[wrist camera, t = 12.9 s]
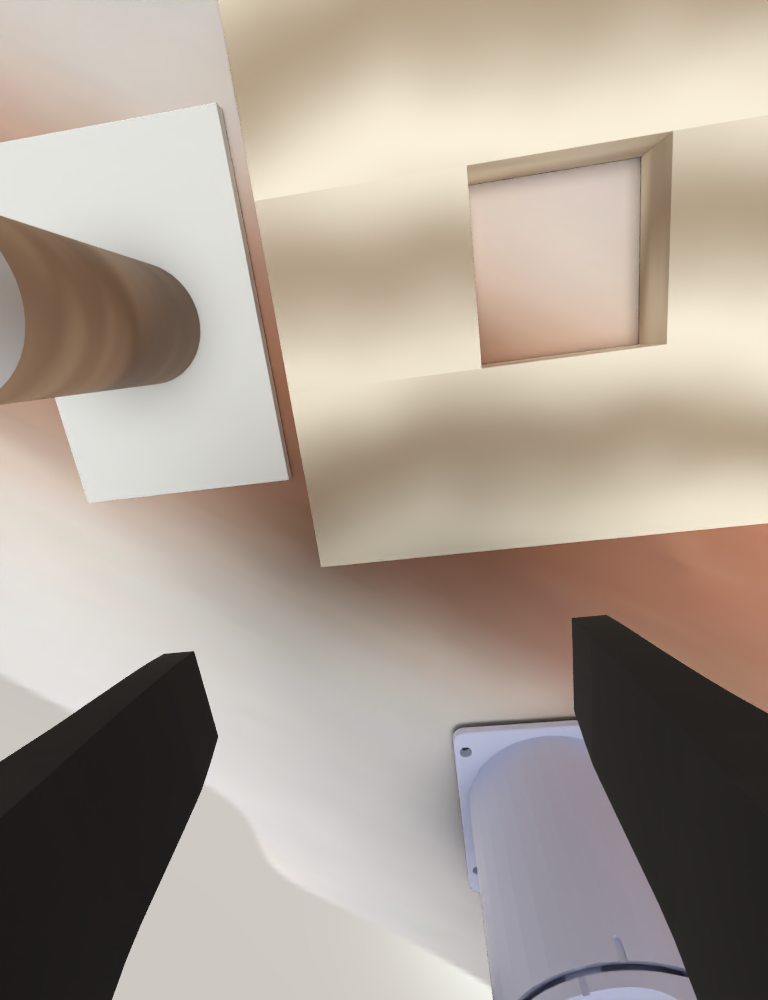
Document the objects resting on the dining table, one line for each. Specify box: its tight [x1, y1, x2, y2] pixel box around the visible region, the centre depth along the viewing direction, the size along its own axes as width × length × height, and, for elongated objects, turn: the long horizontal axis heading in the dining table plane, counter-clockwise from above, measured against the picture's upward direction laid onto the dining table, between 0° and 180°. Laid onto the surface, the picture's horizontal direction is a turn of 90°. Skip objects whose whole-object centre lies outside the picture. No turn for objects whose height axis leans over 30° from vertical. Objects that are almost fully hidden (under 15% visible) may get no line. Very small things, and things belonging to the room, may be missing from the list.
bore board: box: [218, 0, 768, 567], centre depth 16 cm, size 18×18×2 cm
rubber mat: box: [0, 102, 292, 503], centre depth 18 cm, size 12×8×1 cm, turn 7°
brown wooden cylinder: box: [0, 216, 200, 405], centre depth 14 cm, size 4×4×8 cm
